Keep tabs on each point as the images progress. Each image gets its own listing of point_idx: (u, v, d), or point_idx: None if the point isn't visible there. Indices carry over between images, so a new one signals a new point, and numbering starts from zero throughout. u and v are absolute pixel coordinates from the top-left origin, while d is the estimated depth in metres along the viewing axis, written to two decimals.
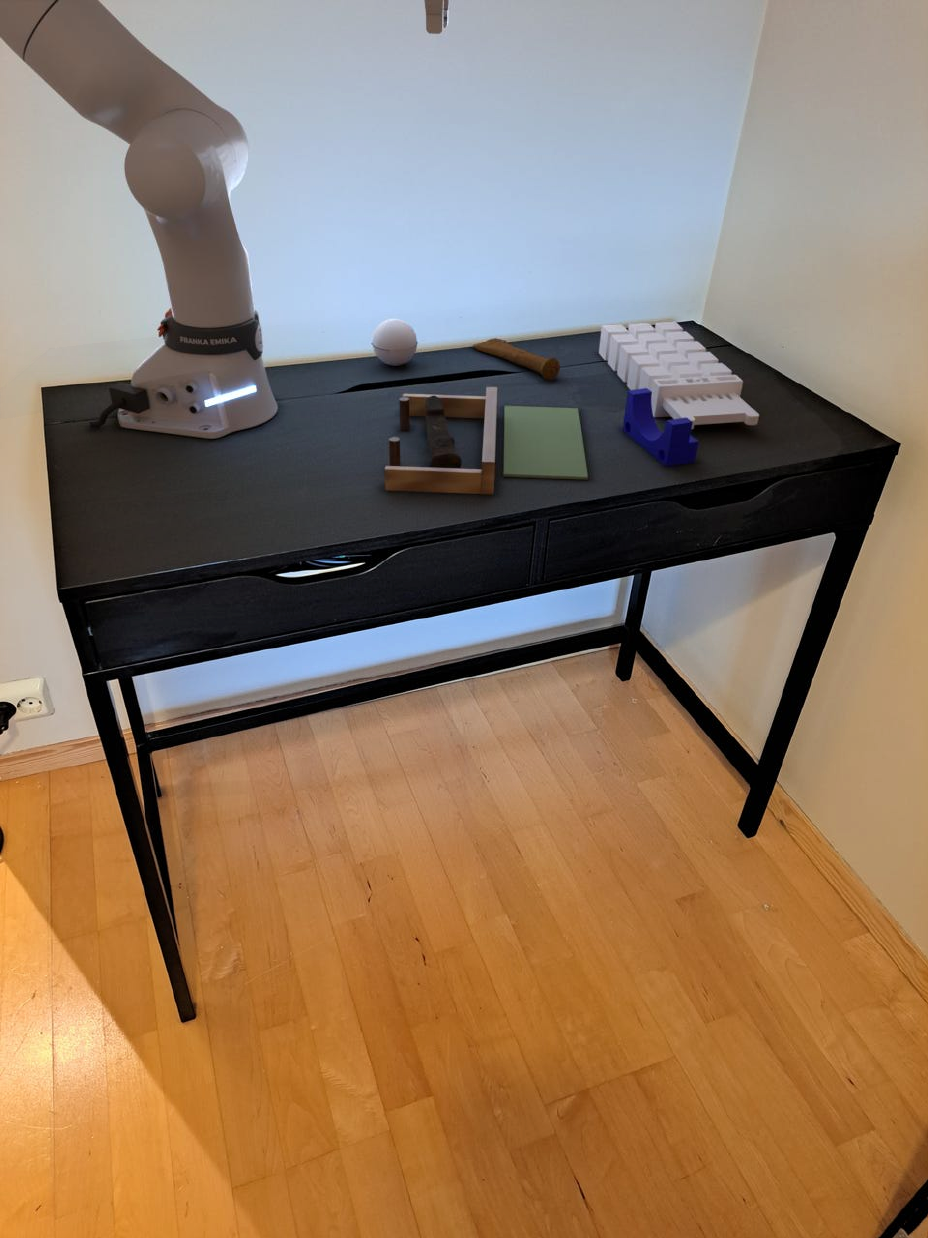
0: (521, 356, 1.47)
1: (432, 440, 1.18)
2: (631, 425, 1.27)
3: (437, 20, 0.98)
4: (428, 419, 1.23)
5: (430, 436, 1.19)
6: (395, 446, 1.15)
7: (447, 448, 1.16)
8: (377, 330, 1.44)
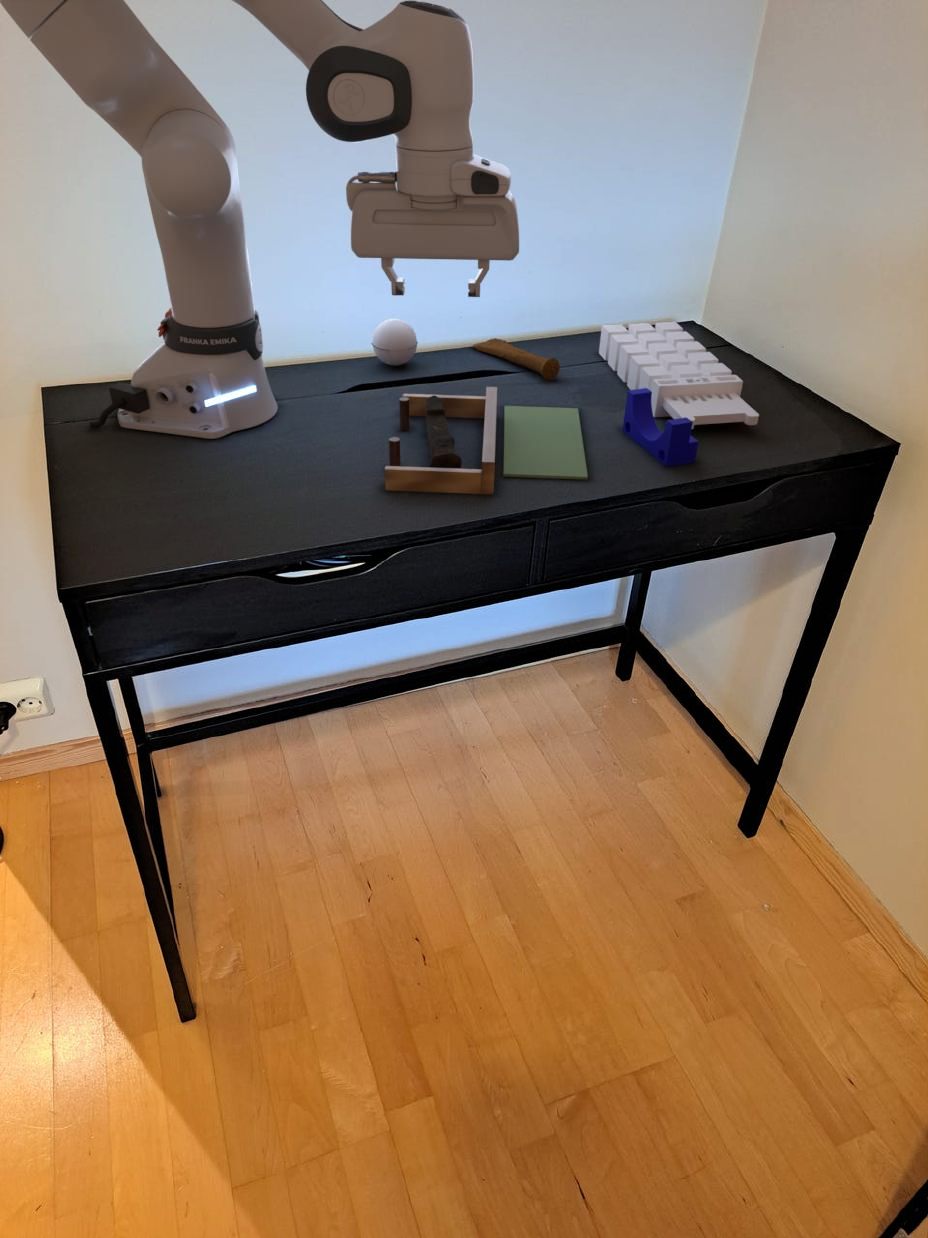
0: (521, 356, 1.47)
1: (432, 440, 1.18)
2: (631, 425, 1.27)
3: None
4: (428, 419, 1.23)
5: (430, 436, 1.19)
6: (395, 446, 1.15)
7: (447, 449, 1.16)
8: (377, 330, 1.44)
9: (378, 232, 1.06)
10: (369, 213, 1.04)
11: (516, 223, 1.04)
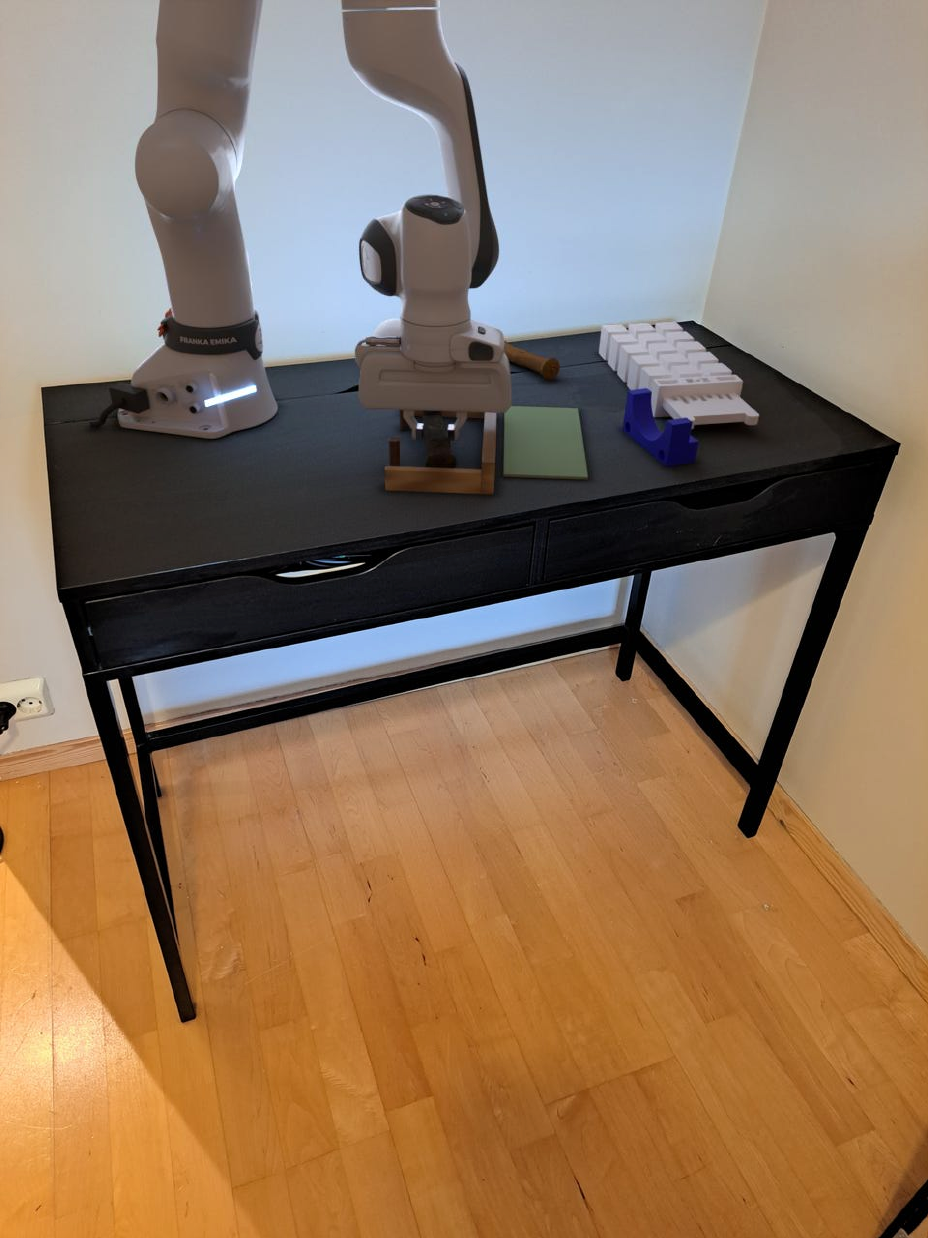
0: (521, 356, 1.47)
1: (428, 440, 1.18)
2: (631, 425, 1.27)
3: None
4: (425, 419, 1.23)
5: (426, 436, 1.19)
6: (395, 446, 1.15)
7: (442, 448, 1.16)
8: (377, 330, 1.44)
9: (384, 388, 1.16)
10: (375, 372, 1.15)
11: (509, 383, 1.15)
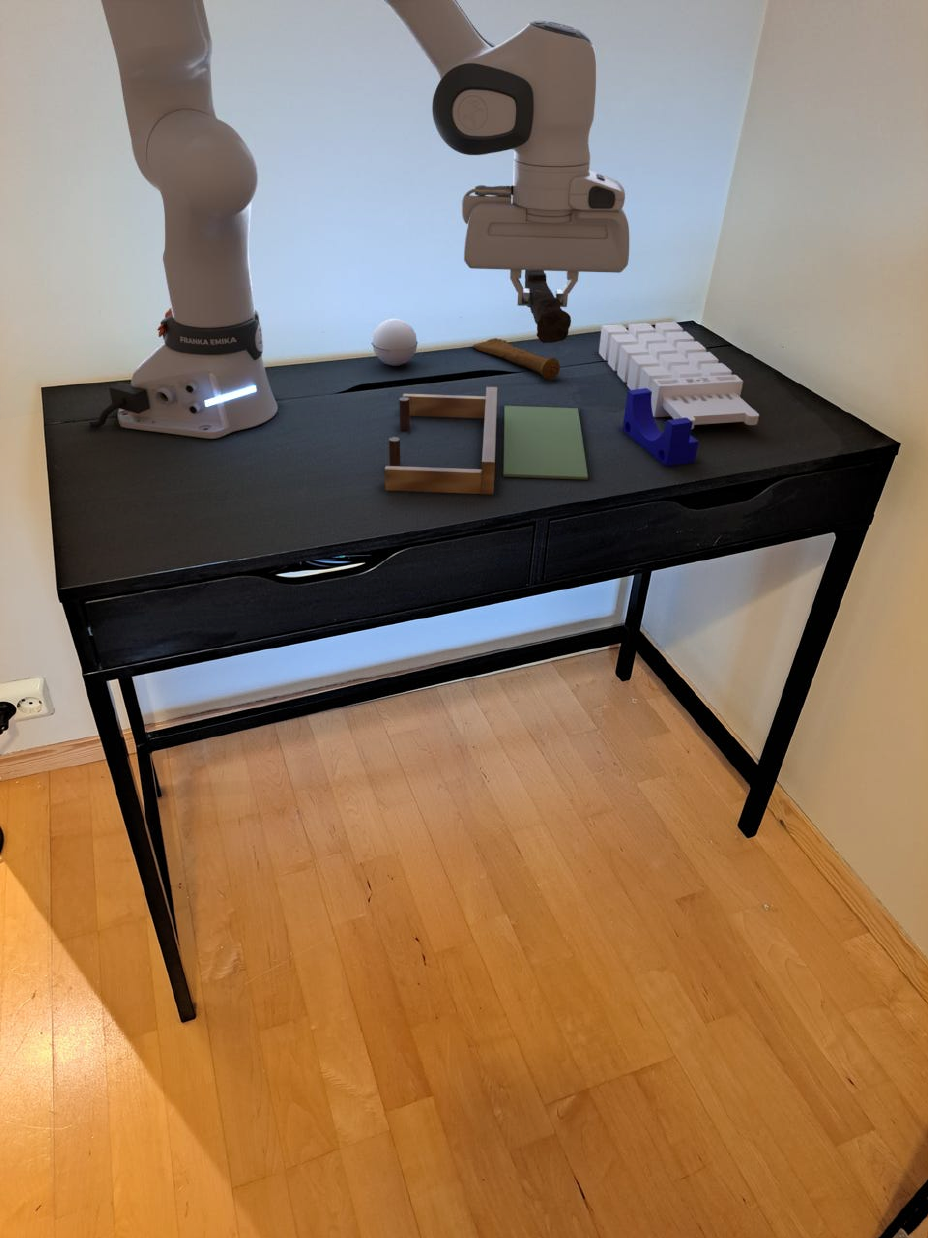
0: (521, 356, 1.47)
1: (537, 302, 1.10)
2: (631, 425, 1.27)
3: None
4: (530, 285, 1.15)
5: (534, 299, 1.12)
6: (395, 446, 1.15)
7: (554, 307, 1.08)
8: (377, 330, 1.44)
9: (492, 243, 1.08)
10: (484, 225, 1.07)
11: (628, 237, 1.07)
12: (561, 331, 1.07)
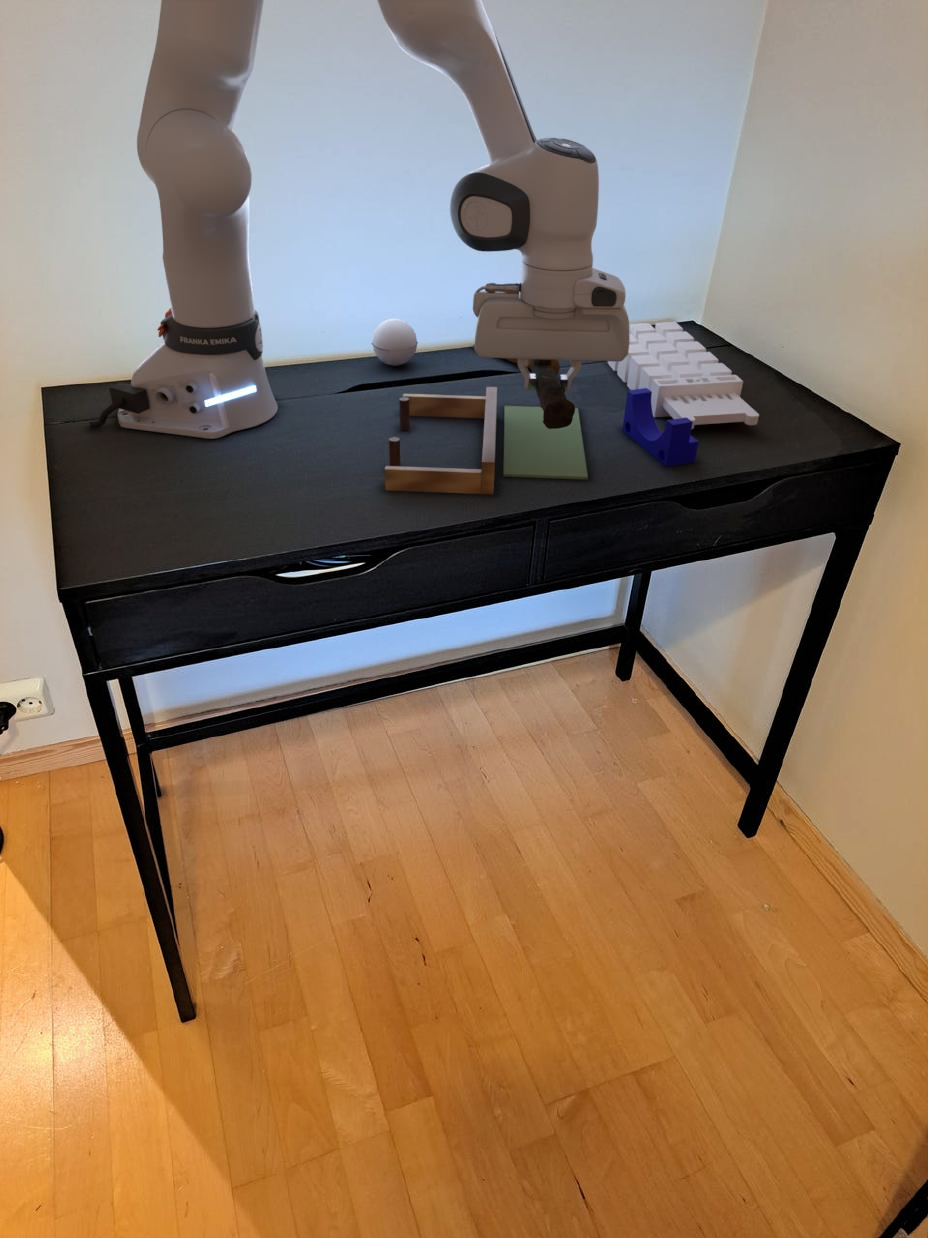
0: None
1: (543, 389, 1.18)
2: (631, 425, 1.27)
3: None
4: (536, 369, 1.23)
5: (540, 385, 1.19)
6: (395, 446, 1.15)
7: (559, 396, 1.15)
8: (377, 330, 1.44)
9: (501, 336, 1.16)
10: (494, 319, 1.15)
11: (628, 330, 1.14)
12: (566, 418, 1.14)
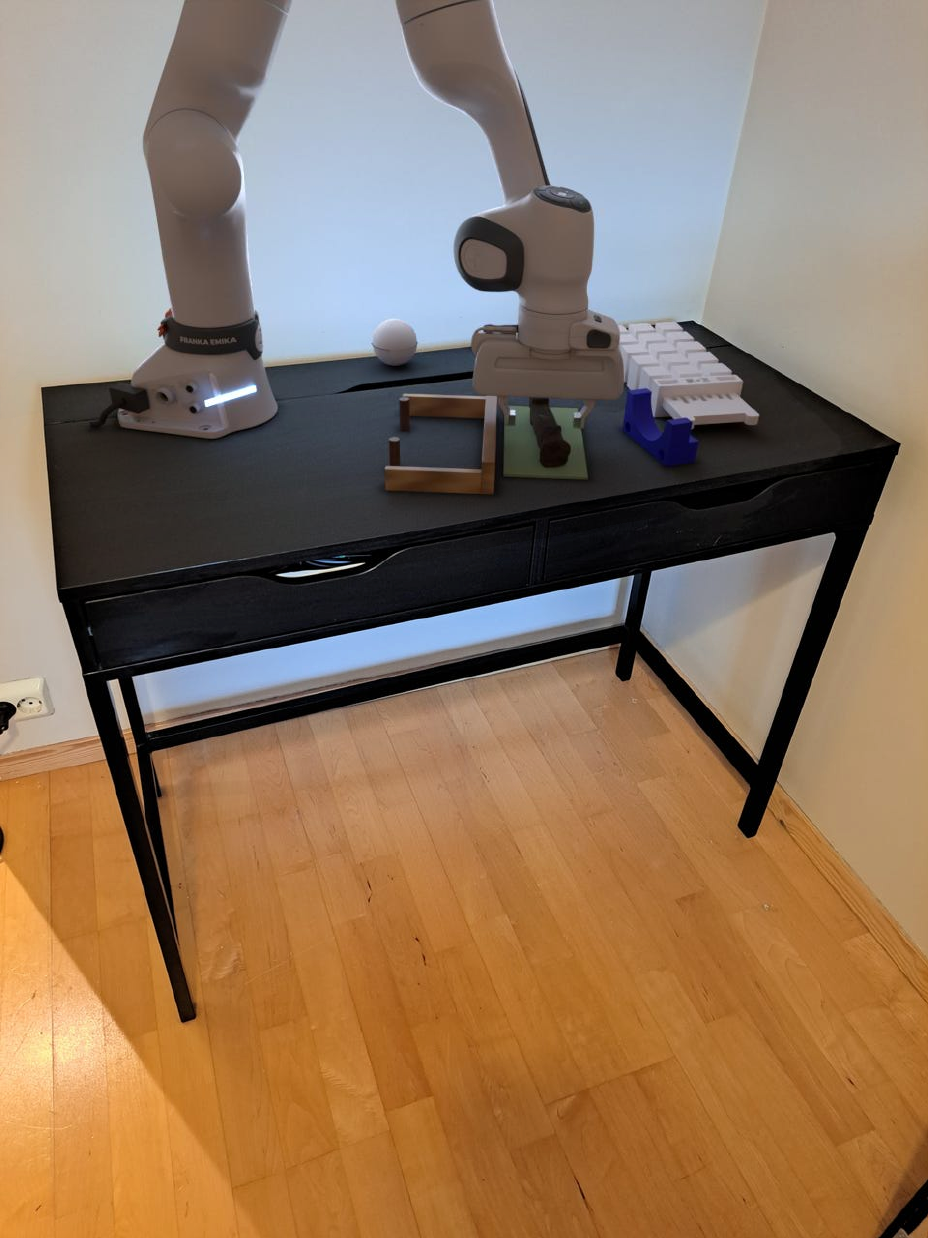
0: None
1: (540, 428, 1.21)
2: (631, 425, 1.27)
3: None
4: (533, 408, 1.26)
5: (537, 424, 1.22)
6: (395, 446, 1.15)
7: (556, 436, 1.18)
8: (377, 330, 1.44)
9: (499, 375, 1.19)
10: (491, 359, 1.17)
11: (622, 371, 1.17)
12: (561, 458, 1.18)
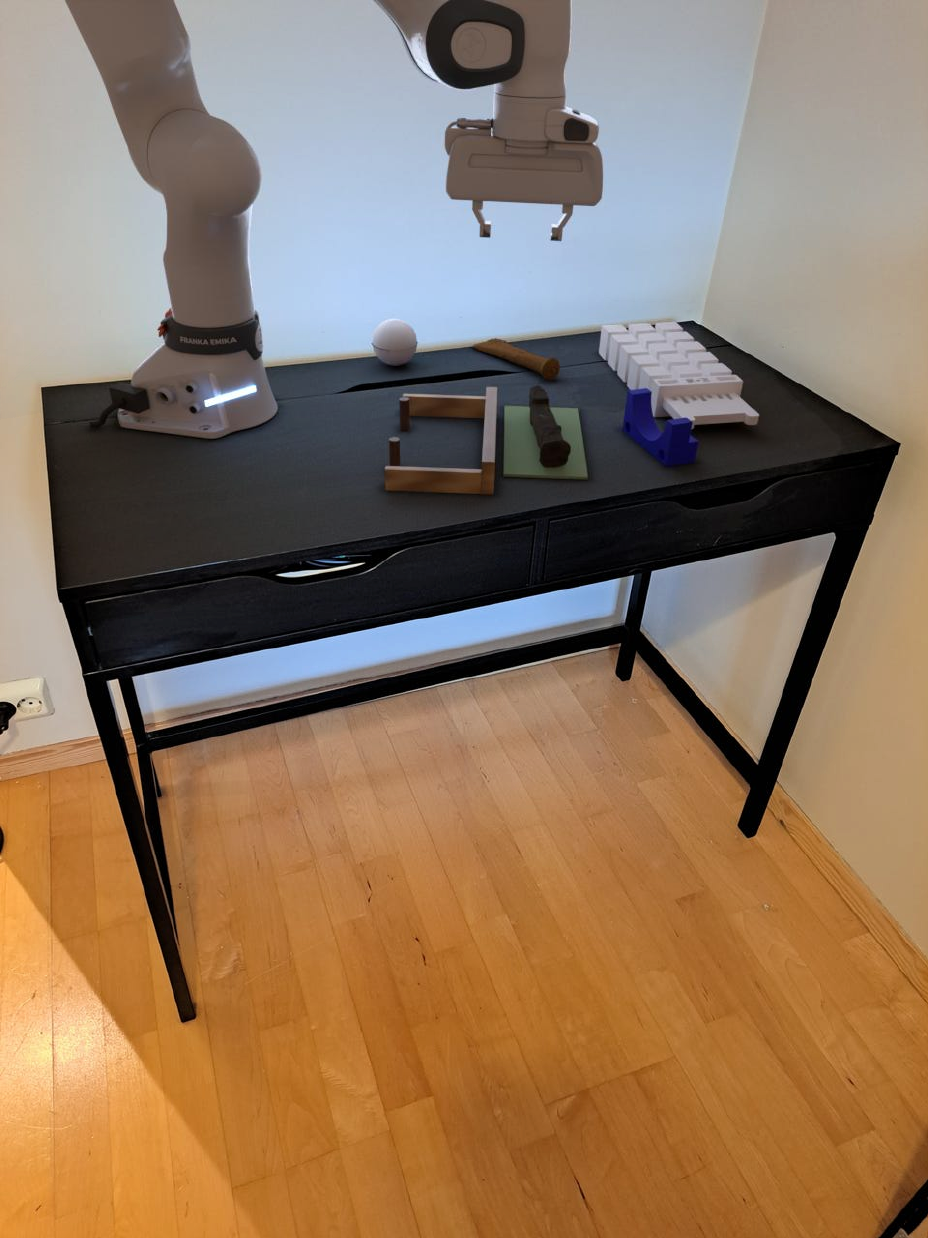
0: (521, 356, 1.47)
1: (540, 428, 1.21)
2: (631, 425, 1.27)
3: None
4: (534, 408, 1.26)
5: (537, 424, 1.22)
6: (395, 446, 1.15)
7: (556, 436, 1.18)
8: (377, 330, 1.44)
9: (472, 175, 1.14)
10: (465, 156, 1.13)
11: (601, 170, 1.12)
12: (561, 458, 1.18)
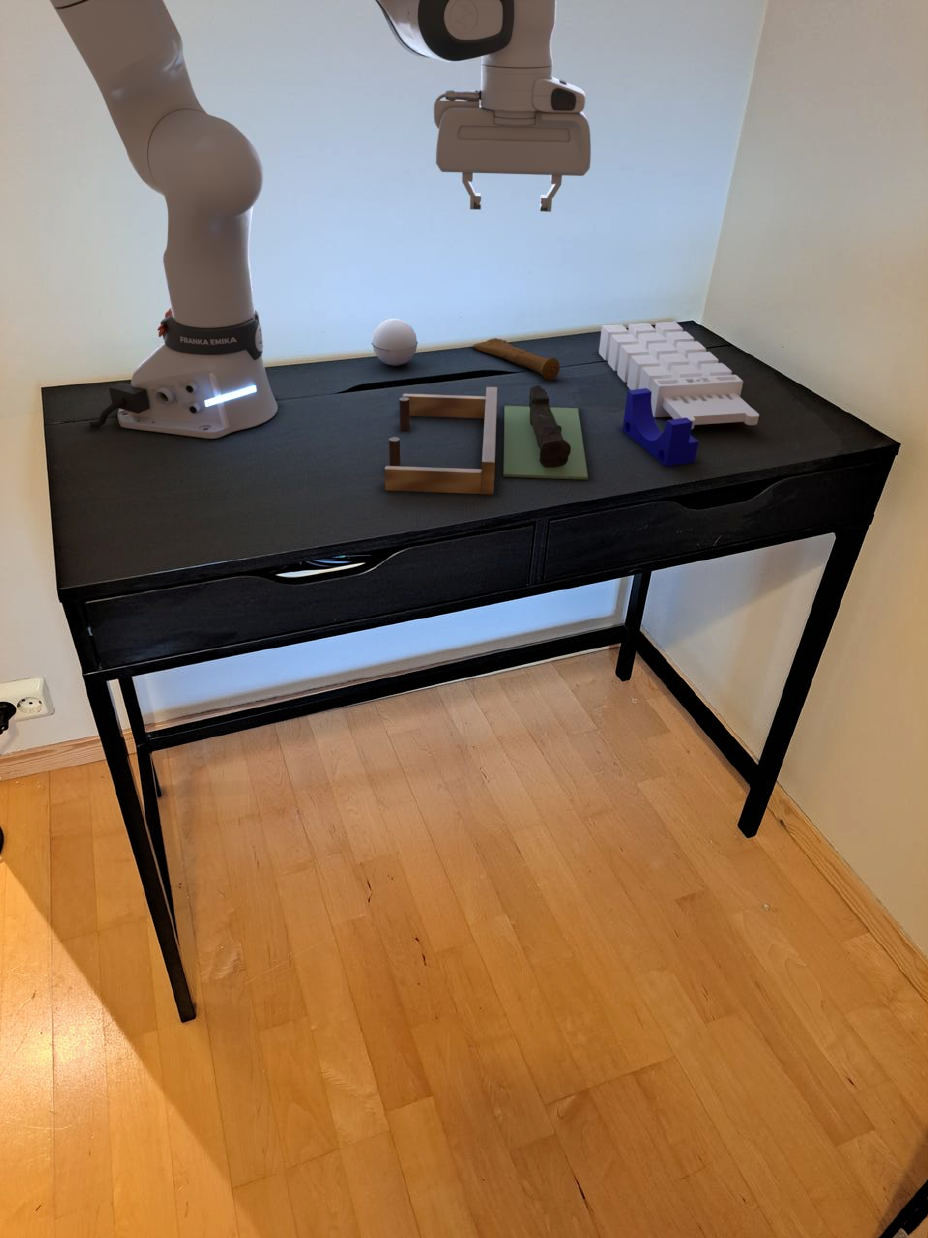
0: (521, 356, 1.47)
1: (540, 428, 1.21)
2: (631, 425, 1.27)
3: None
4: (534, 408, 1.26)
5: (537, 424, 1.22)
6: (395, 446, 1.15)
7: (556, 436, 1.18)
8: (377, 330, 1.44)
9: (462, 147, 1.15)
10: (454, 128, 1.14)
11: (589, 139, 1.14)
12: (561, 458, 1.18)
